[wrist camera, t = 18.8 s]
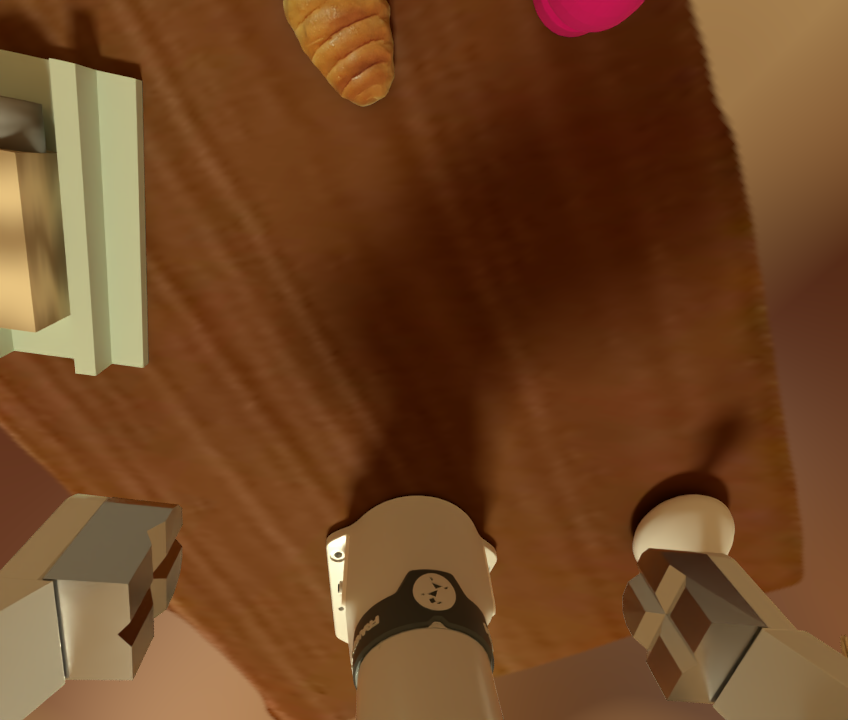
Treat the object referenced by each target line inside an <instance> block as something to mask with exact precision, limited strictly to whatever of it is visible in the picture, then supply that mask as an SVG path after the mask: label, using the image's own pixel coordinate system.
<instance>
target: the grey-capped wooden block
mask: <svg viewBox="0 0 848 720" xmlns="http://www.w3.org/2000/svg"><path fill="white" fill-rule="evenodd" d="M69 315H71V314H70V302H69V290H68V278H67V266H66V254H65V242H64V231H63V219H62V207H61V195H60V183H59V171H58V159H57V152H53V151H48V150H46V143H45V132H44V121H43V110H42V104H39V103H35V102H30V101H25V100H21V99H16V98H11V97H5V96H0V328H6V329H13V330H20V331H28V332H35V333H36V332H38V331H40V330H42V329H44V328H46V327H48V326H50V325H52V324H54V323H56V322H58V321H60V320H62V319H64V318H66V317H68V316H69Z"/></svg>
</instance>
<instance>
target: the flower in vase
mask: <svg viewBox="0 0 848 720" xmlns="http://www.w3.org/2000/svg"><path fill="white" fill-rule="evenodd" d="M734 532H735V525H734V521H733V518H732V515H731V513H730V511H729V509H728V508H727V506H726V505H725V504H724V503H722V502H721V501H719V500H717V499H715V498H713V497H709V496H705V495H698V494H689V495H681V496H677V497H674V498H671V499H669V500H666V501H664V502H662V503H660V504H659V505H657V506H656V507H654V508H653V509H652V510H651V511H649V512H648V513H647V514H646V515H645V517H644V518H643V519H642V520H641V522H640V523H639V525H638V527H637V529H636V531H635V534H634V539H633V553H634V556H635V559H636V560H637V562H638V560H639V558H640V556H641V554H642V553H643V552H644V551H646V550H647V549H648V548H656V549H668V550H680V551H692V552H712V553H724V554H726V555H728V553H729V551H730V548H731V546H732V543H733V538H734ZM840 639H841V642H840V644H841V645H840V646H841V651H842V655H843V656H845V657H846V658H848V639H847V636H846V635H844V637H843V636H841V638H840Z"/></svg>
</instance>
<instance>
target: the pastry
mask: <svg viewBox="0 0 848 720" xmlns="http://www.w3.org/2000/svg"><path fill="white" fill-rule="evenodd" d="M283 7H284V12H285V16H286V18H287V21H288V23H289V24H290V26H291V27H292V29H293V30H294V32H295V35H296V37H297V38H298V40H299V42H300V45H301V47H302V49H303V51H304V53H305V54H306V55H307V56H308V57H309V58H310V60H311V61H312V63H313V64H314V65H315V66H316V67H317V68H318V69H319V70H320V72H321V73H322V74H323V76H324V77H325V78H326V79H327V80H328V82H329V83H330V84H331V86H332V87H333V88H334V89H335V90H336V91H337V92H338V93H339V94H340V96H341V97H343V98H345V99H348V100H350V101H351V102H353V103H355V104H357V105H359V106H367V105H370V104H373V103H375V102H376V101H378V100H379V99H382V98H384V97H385V96H386V95H387V93H388V91H389V89H390V86H391V84H392V82H393V79H394V77H395V72H394V62H393V53H394V50H393V49H394V42H393V37H392V32H391V29H390V6H389V4H388V2H387V1H386V0H283Z"/></svg>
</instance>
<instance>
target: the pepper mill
mask: <svg viewBox="0 0 848 720" xmlns="http://www.w3.org/2000/svg"><path fill="white" fill-rule="evenodd" d="M644 1H645V0H533V3H534V6H535V9H536V12H537V14H538V16H539V18H540V20H541V21H542V22H543V23H544V25H545V26H546V27H547V28H549V29H550V30H551V31H552V32H554V33H556V34H558V35H560V36H565V37H577V36H581V35H584V34H587V33H589V32H600V31H603V30H607V29H610V28H612V27H614V26H616V25H618V24H619V23H621V22H622V21H624V20H625V19H626V18H628V17H629V16H630V15H631V14H632V13H633V12H635V11H636V10H637V9H638V8H639V7H640V5H641V4H642V3H643V2H644Z"/></svg>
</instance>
